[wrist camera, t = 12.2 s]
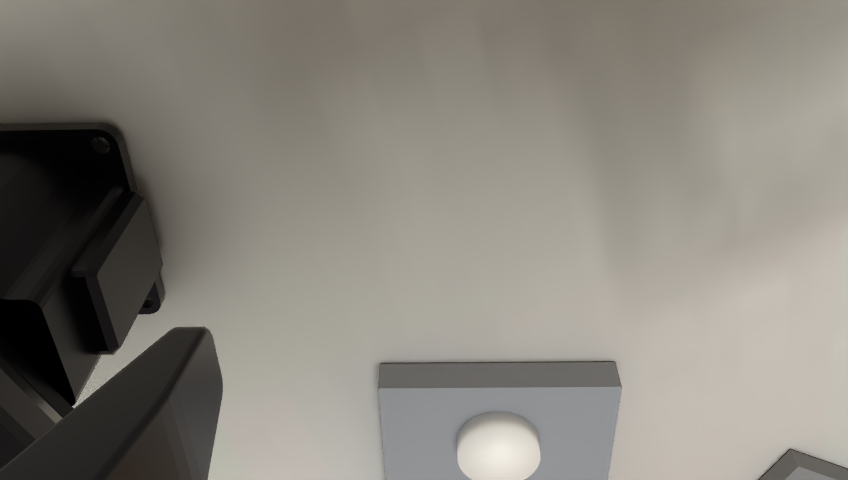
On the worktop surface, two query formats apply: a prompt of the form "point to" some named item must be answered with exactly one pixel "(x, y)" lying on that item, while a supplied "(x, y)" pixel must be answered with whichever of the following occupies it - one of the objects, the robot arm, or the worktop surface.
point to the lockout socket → (804, 469)
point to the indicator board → (498, 420)
